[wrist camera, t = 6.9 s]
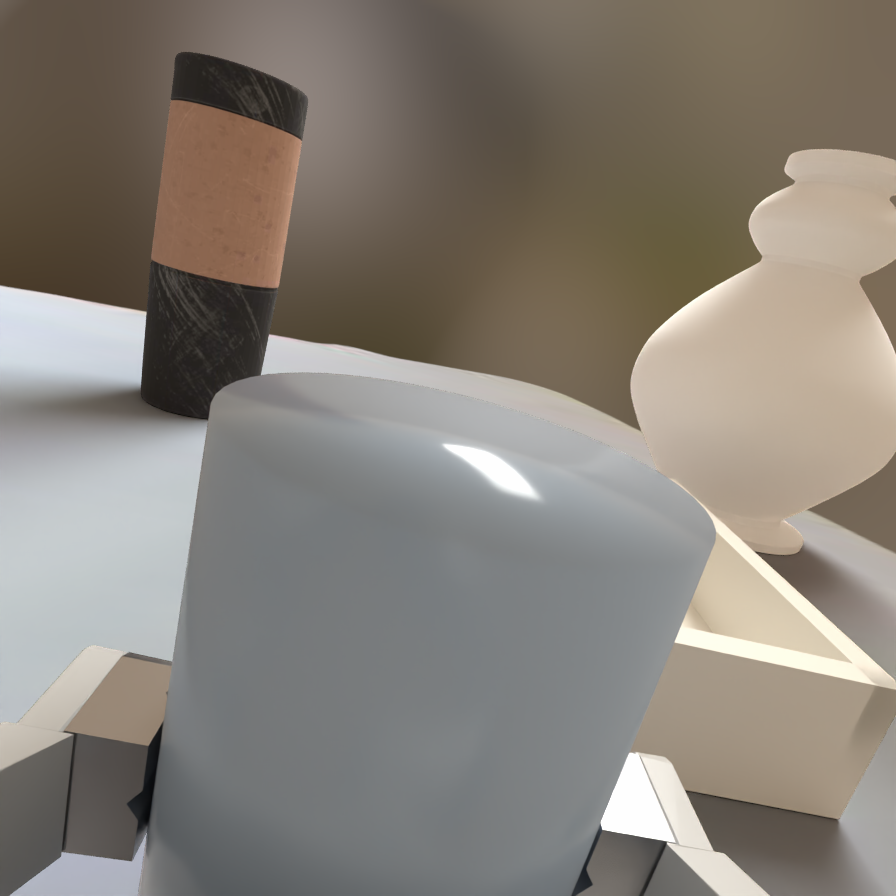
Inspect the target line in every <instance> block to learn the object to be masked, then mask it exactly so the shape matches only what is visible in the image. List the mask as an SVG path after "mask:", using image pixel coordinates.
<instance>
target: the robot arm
mask: <svg viewBox="0 0 896 896" xmlns="http://www.w3.org/2000/svg"><path fill="white" fill-rule="evenodd" d="M171 668H172V662H171V661H167V660H162V659H158V658H153V657H148V656H144V655H139V654H135V653H130V652H129V653H126V652H124V651H119V650H114V649H109V648H105V647H100V646H95V645H92V646H90V647H87V648H85V649H84V650H82V651H81V653H80V654H79V655H78V656H77V657H76V658H75V659H74V660H73V661H72V663H71V664H70V665H69V666H68V667H67V668H66V669H65V670H64V671H63V673H62V674H61V675H60V676H59V677H58V678H57V679H56V680H55V681H54V683H53V684H52V685H51V686H50V687H49V688H48V689H47V690H46V691H45V692H44V694H43V695H42V696H41V697H40V698H39V699H38V700H37V701H36V702H35V704H34V705H33V706H32V707H31V708H30V709H29V710H28V711H27V712H26V714H25V715H24V716H23V717H22V718H21V719H20V720H19V721H18V722H17V724H15V723H10V722H3V723H0V896H9V895H10V894H12V893H13V892H14V891H16V890H17V889H18V888H20V887H21V886H22V885H24V884H25V883H26V882H28V881H29V880H30V879H32V878H33V877H34V876H36V875H37V874H38V873H40V872H41V871H42V870H44V869H45V868H46V867H48V866H49V865H50V864H52V863H53V862H54V861H56V860H57V859H58V858H60V857H61V852H66V853H73V854H81V855H88V856H95V857H103V858H110V859H118V860H125V861H132V860H133V858H134V856H135V854H136V852H137V850H138V848H139V846H140V845H141V843H142V841H143V839H144V837H145V835H146V833H147V830H148V823H149V816H150V809H151V803H152V796H153V789H154V782H155V776H156V769H157V762H158V755H159V749H160V742H161V735H162V729H163V722H164V715H165V708H166V702H167V695H168V688H169V681H170V675H171ZM571 896H769V895H768V894H767V893H766V892H765V891H764V890H763V889H762V888H761V887H760V886H759V885H758V884H757V883H755V882H754V881H753V880H752V879H751V878H750V877H749V876H748V875H747V874H746V873H745V872H744V871H743V870H741V869H740V868H739V867H738V866H737V865H736V864H735V863H734V862H733V861H732V860H731V859H730V858H729V857H727V856H726V855H725V854H724V853H720V852H715V851H714V850H713V848H712V846H711V844H710V842H709V840H708V838H707V836H706V834H705V832H704V830H703V827H702V825H701V823H700V821H699V819H698V817H697V815H696V813H695V811H694V809H693V807H692V805H691V802H690V800H689V798H688V796H687V794H686V792H685V790H684V788H683V786H682V784H681V782H680V779H679V777H678V775H677V773H676V771H675V769H674V767H673V765H672V763H671V762H670V761H669V760H668V759H667V758H666V757H662V756H656V755H650V754H644V753H639V752H633V753H632V752H630V753H629V755H628V758H627V760H626V763H625V765H624V768H623V770H622V772H621V775H620V777H619V780H618V782H617V785H616V787H615V790H614V792H613V795H612V797H611V800H610V802H609V804H608V807H607V809H606V812H605V814H604V817H603V819H602V822H601V824H600V827H599V829H598V831H597V834H596V836H595V839H594V841H593V844H592V846H591V849H590V851H589V854H588V856H587V859H586V861H585V863H584V866H583V868H582V871H581V873H580V876H579V878H578V881H577V883H576V886H575V888H574V891H573V893H572V895H571Z"/></svg>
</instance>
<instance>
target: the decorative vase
mask: <svg viewBox="0 0 896 896" xmlns="http://www.w3.org/2000/svg"><path fill="white" fill-rule="evenodd" d="M785 172H786V174H787V175H788V176H790V177H791V178H792V179H794V180H795V183H794V185H792V186H789V187H787V188H785V189H782V190H780V191H778V192H776V193H774V194H772V195H771V196H769V197H767V198H766V199H764V200H763V201H762V202H761V203H760V204H759V205H758V206H757V207H756V208H755V209H754V211H753V213H752V215H751V217H750V220H749V230H750V234H751V237H752V239H753V241H754V243H755V245H756V247H757V249H758V250H759V252H760V253H761V254H762V256H763V257H762V260H761V262H759V263H757V264H756V265H754V266H752V267H750V268H748V269H746V270H744V271H743V272H741V273H739V274H737V275H735V276H734V277H732V278H730V279H728V280H726V281H725V282H723V283H721V284H719V285H717V286H716V287H714V288H712V289H710V290H709V291H707V292H705V293H704V294H702V295H701V296H699V297H698V298H696V299H695V300H693V301H692V302H690V303H689V304H687V305H686V306H685V307H683V308H682V309H681V310H680V311H678V312H677V313H676V314H674V315H673V316H672V317H671V318H670V319H668V320H667V321H666V322H665V323H664V324H663V325H662V326H661V327H660V328H659V329H658V330H657V331H656V332H655V333H654V334H653V335H652V336H651V337H650V338H649V340H648V341H647V342H646V344H645V345H644V347H643V349H642V350H641V352H640V354H639V356H638V358H637V361H636V363H635V366H634V369H633V372H632V377H631V396H632V401H633V405H634V409H635V412H636V416H637V419H638V422H639V425H640V428H641V430H642V433H643V436H644V438H645V441H646V444H647V446H648V449H649V451H650V454H651V457H652V459H653V462H654V464H655V467H656V469H657V471H658V472H659V473H661V474H663V475H664V476H666V477H668V478H672V479H675V480H676V481H678V482H679V483H680V484H681V485H682V486H683V487H684V488H685V489H686V490H687V491H688V492H690V493H691V494H692V495H693V496H694V497H695V498H696V499H697V500H698V501H699V502H700V503H702V504H703V505H704V506H705V507H706V508H707V509H708V510H709V511H710V512H711V513H713V514H714V515H715V516H716V517H717V518H718V519H719V520H720V521H721V522H722V523H723V524H725V525H726V526H727V527H728V528H729V529H730V530H731V531H732V532H733V533H734V534H735V535H737V536H738V537H739V538H740V539H741V540H742V541H743V542H744V543H745V544H746V545H748V546H749V547H750V548H751V549H752V550H753V551H756V552H761V553H767V554H775V555H791V554H795V553H797V552H799V551H800V549H801V547H802V545H803V537H802V536H801V534H800V533H799V532H798V531H797V530H796V529H795V528H794V527H793V526H791V525H790V524H789V523H787V522H786V521H784V520H783V519H786V518H788V517H791V516H793V515H796V514H798V513H800V512H802V511H804V510H806V509H809V508H811V507H813V506H815V505H817V504H819V503H821V502H824V501H826V500H828V499H830V498H832V497H834V496H836V495H838V494H840V493H842V492H844V491H846V490H848V489H850V488H852V487H854V486H856V485H857V484H859V483H861V482H863V481H865V480H866V479H868V478H869V477H871V476H872V475H874V474H875V473H877V472H878V471H879V470H881V469H882V468H883V467H884V466H885V465H886V464H887V463H888V462H889V460H890V459H891V458H892V456H893V455H894V453H895V452H896V354H895V351H894V349H893V347H892V344H891V342H890V340H889V337H888V335H887V333H886V332H885V329H884V328H883V325H882V323H881V322H880V320H879V318H878V316H877V314H876V313H875V310H874V309H873V307H872V305H871V303H870V302H869V300H868V298H867V296H866V294H865V293H864V291H863V289H862V287H861V286H860V284H859V281H860V279H861V277H862V276H865V275H867V274H870V273H872V272H874V271H877V270H878V269H880V268H882V267H884V266H886V265H887V264H889V263H891V262H892V261H894V260H895V259H896V208H895V206H894V205H893V204H892V203H891V202H890V201H889V199H890V196H894V195H896V161H895V160H892V159H889V158H886V157H882V156H878V155H873V154H868V153H862V152H855V151H847V150H835V149H814V150H804V151H799V152H795V153H793V154H791V155H790V156H789V158H788V161H787V163H786V166H785Z"/></svg>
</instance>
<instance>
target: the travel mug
mask: <svg viewBox="0 0 896 896" xmlns="http://www.w3.org/2000/svg"><path fill="white" fill-rule="evenodd" d="M171 100H172V101H171V102H170V111H169V119H168V127H167V135H166V143H165V151H164V159H163V167H162V175H161V183H160V191H159V199H158V207H157V215H156V224H155V231H154V240H153V247H152V255H151V259H152V262H151V265H150V278H149V292H148V304H147V315H146V328H145V341H144V353H143V366H142V380H141V395H142V398H143V399H144V400H145V401H146V402H147V403H149V404H151V405H153V406H155V407H157V408H160V409H162V410H165V411H169V412H172V413H176V414H180V415H185V416H190V417H197V418H205V419H209V412H210V405H211V402H212V400H213V398H214V396H215V394H216V393H217V392H219V391H220V390H221V389H222V388H223V387H225V386H227V385H229V384H231V383H233V382H236V381H239V380H242V379H246V378H249V377H254V376H261V371H262V366H263V361H264V356H265V351H266V346H267V341H268V336H269V331H270V326H271V322H272V317H273V312H274V307H275V301H276V297H277V292H278V290H277V287H278V286H279V281H280V275H281V269H282V263H283V256H284V249H285V243H286V238H287V231H288V225H289V219H290V213H291V205H292V200H293V194H294V188H295V181H296V175H297V169H298V162H299V157H300V150H301V144H302V142H301V141H302V138H303V131H304V125H305V119H306V112H307V106H308V98H307V96H306V95H305V94H304V93H303V92H302V91H300V90H299V89H297V88H296V87H294V86H292V85H290V84H288V83H286V82H284V81H282V80H279V79H278V78H276V77H273V76H271V75H268V74H266V73H264V72H261V71H258V70H256V69H253V68H250V67H247V66H244V65H241V64H238V63H235V62H232V61H229V60H225V59H222V58H218V57H214V56H210V55H205V54H200V53H193V52H181V53H178V54H177V56H176V58H175V70H174V78H173V86H172V94H171Z"/></svg>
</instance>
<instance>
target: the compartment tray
mask: <svg viewBox="0 0 896 896" xmlns="http://www.w3.org/2000/svg"><path fill="white" fill-rule="evenodd" d="M667 478H668V477H667ZM669 479H670V480H672V481H673V482H675V483H676V484H677V485H679V486H680V487H682V488H683V489H684V490H685V491H686V492H688V491H687V490H686V489H685V488H684V487H683V486H682V485H681V484H680V483H679V482H678V481H676V480H675V479H672V478H669ZM688 493H689V494H690V495H691V496H692V497H694V496H693V495H692V494H691V493H690V492H688ZM694 498H695V497H694ZM695 499H696V498H695ZM696 500H697V499H696ZM697 501H698V500H697ZM698 502H699V501H698ZM699 503H700V502H699ZM700 504H701V506H702V507H703V508H704V509H705V510H706V511H707V513H708V514H709V516H710V517H711V519H712V520H713V523H714V526H715V529H716V540H715V544H714V546H713V549H712V551H711V554H710V556H709V559H708V561H707V563H706V566H705V568H704V571H703V573H702V576H701V578H700V581H699V583H698V586H697V588H696V591H695V593H694V595H693V598H692V600H691V603H690V605H689V608H688V610H687V613H686V615H685V618H684V620H683V622H682V625H681V627H680V630H679V632H678V635H677V637H676V640H675V642H674V645H673V647H672V650H671V652H670V654H669V657H668V659H667V662H666V664H665V667H664V669H663V672H662V674H661V677H660V679H659V682H658V684H657V686H656V689H655V691H654V694H653V696H652V699H651V701H650V704H649V706H648V709H647V711H646V713H645V716H644V718H643V721H642V723H641V726H640V728H639V731H638V733H637V736H636V738H635V741H634V743H633V745H632V748H631V750H630V752H632V753H633V752H639V753H644V754H650V755H656V756H662V757H666V758H667V759H668V760H669V761H670V762H671V763H672V765H673V767H674V769H675V771H676V773H677V775H678V777H679V779H680V782H681V784H682V786H683V788H684V790H688V791H693V792H698V793H704V794H709V795H714V796H719V797H724V798H730V799H735V800H740V801H745V802H751V803H756V804H761V805H766V806H771V807H777V808H782V809H787V810H792V811H798V812H803V813H808V814H813V815H818V816H824V817H829V818H834V819H840V817H841V815H842V813H843V811H844V810H845V808H846V806H847V804H848V802H849V800H850V799H851V797H852V795H853V793H854V791H855V789H856V787H857V786H858V784H859V782H860V780H861V778H862V776H863V775H864V773H865V771H866V769H867V767H868V765H869V763H870V762H871V760H872V758H873V756H874V754H875V752H876V750H877V749H878V747H879V745H880V743H881V741H882V739H883V738H884V736H885V734H886V732H887V730H888V728H889V726H890V725H891V723H892V721H893V719H894V717H895V715H896V681H895V680H894V679H893V678H892V677H891V676H890V675H889V674H887V673H886V672H885V671H884V670H883V669H882V668H881V667H880V666H879V665H878V664H877V663H875V662H874V661H873V660H872V659H871V658H870V657H869V656H868V655H867V654H866V653H864V652H863V651H862V650H861V649H860V648H859V647H858V646H857V645H856V644H855V643H854V642H852V641H851V640H850V639H849V638H848V637H847V636H846V635H845V634H844V633H843V632H842V631H840V630H839V629H838V628H837V627H836V626H835V625H834V624H833V623H832V622H831V621H829V620H828V619H827V618H826V617H825V616H824V615H823V614H822V613H821V612H820V611H819V610H817V609H816V608H815V607H814V606H813V605H812V604H811V603H810V602H809V601H808V600H807V599H805V598H804V597H803V596H802V595H801V594H800V593H799V592H798V591H797V590H796V589H795V588H793V587H792V586H791V585H790V584H789V583H788V582H787V581H786V580H785V579H784V578H782V577H781V576H780V575H779V574H778V573H777V572H776V571H775V570H774V569H773V568H772V567H770V566H769V565H768V564H767V563H766V562H765V561H764V560H763V559H762V558H761V557H760V556H758V555H757V554H756V553H755V552H754V551H753V550H752V549H751V548H750V547H749V546H748V545H746V544H745V543H744V542H743V541H742V540H741V539H740V538H739V537H738V536H737V535H735V534H734V533H733V532H732V531H731V530H730V529H729V528H728V527H727V526H726V525H725V524H723V523H722V522H721V521H720V520H719V519H718V518H717V517H716V516H715V515H714V514H713V513H711V512H710V511H709V510H708V509H707V508H706V507H705V506H704V505H703V504H702V503H700Z"/></svg>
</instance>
